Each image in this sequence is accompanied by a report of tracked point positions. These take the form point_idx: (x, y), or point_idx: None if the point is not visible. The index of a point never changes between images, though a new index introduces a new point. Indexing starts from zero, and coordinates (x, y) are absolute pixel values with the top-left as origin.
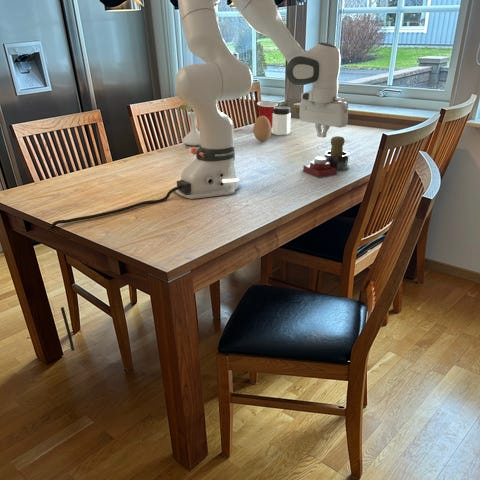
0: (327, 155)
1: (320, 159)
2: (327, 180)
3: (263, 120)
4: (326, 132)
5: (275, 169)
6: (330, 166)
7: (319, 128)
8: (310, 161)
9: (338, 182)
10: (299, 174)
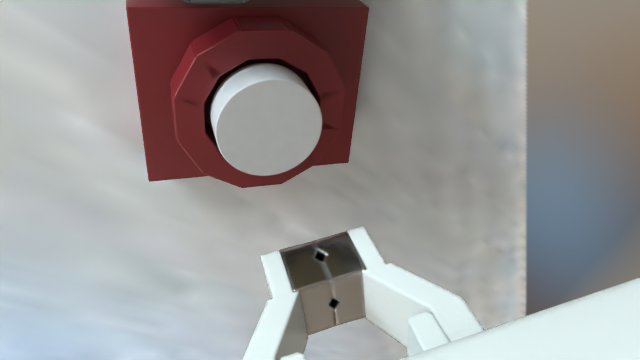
0: (214, 2)
1: (298, 148)
2: (404, 128)
3: None
4: (383, 260)
5: (12, 289)
6: (297, 14)
7: (292, 350)
8: (202, 171)
9: (471, 96)
10: (205, 209)
